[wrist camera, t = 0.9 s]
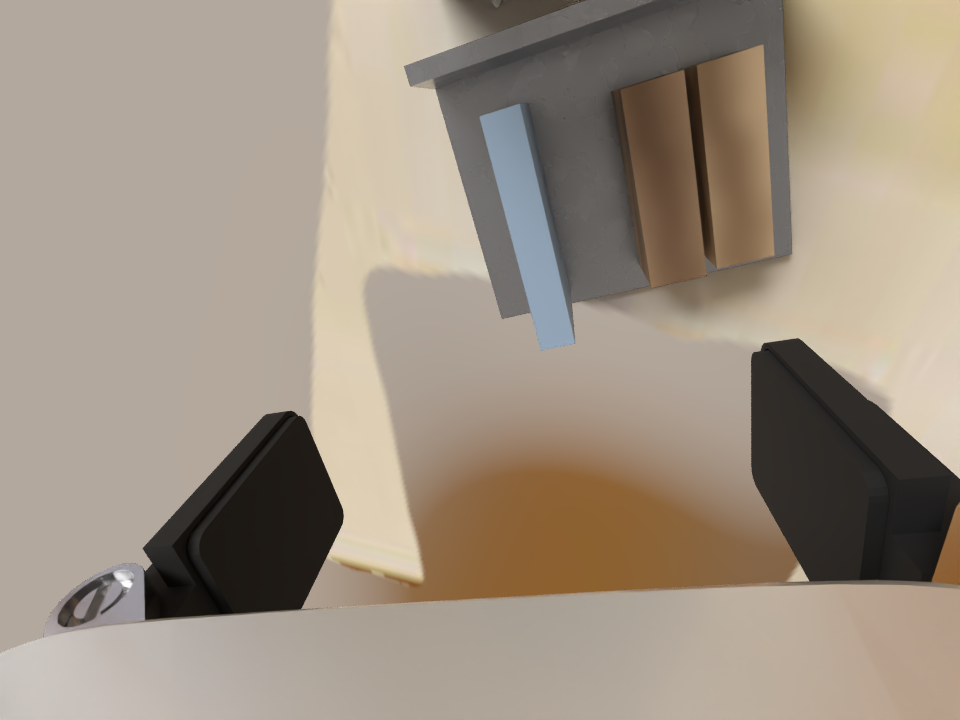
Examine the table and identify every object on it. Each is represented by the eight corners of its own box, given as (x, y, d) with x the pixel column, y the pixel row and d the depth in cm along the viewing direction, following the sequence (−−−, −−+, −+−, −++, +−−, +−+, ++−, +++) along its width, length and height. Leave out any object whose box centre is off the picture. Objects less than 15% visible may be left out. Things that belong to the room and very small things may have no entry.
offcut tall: (665, 74, 38) (684, 69, 33) (688, 254, 44) (706, 275, 38) (611, 91, 39) (620, 89, 34) (639, 265, 45) (651, 287, 39)
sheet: (528, 103, 40) (519, 103, 30) (570, 292, 46) (575, 343, 37) (497, 113, 41) (479, 116, 31) (543, 299, 47) (540, 350, 37)
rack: (774, -48, 35) (840, -92, 27) (787, 250, 43) (839, 284, 35) (433, 73, 41) (403, 66, 33) (502, 315, 49) (493, 356, 41)
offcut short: (738, 51, 37) (763, 44, 32) (751, 239, 42) (774, 255, 38) (680, 69, 38) (696, 65, 33) (700, 251, 43) (717, 268, 39)
